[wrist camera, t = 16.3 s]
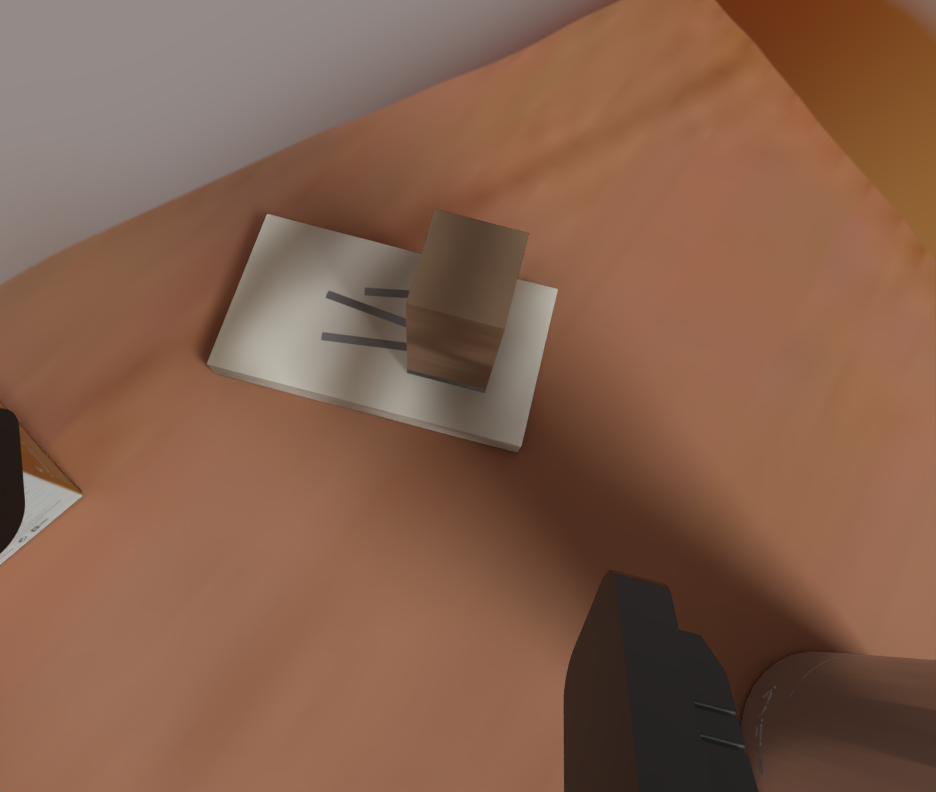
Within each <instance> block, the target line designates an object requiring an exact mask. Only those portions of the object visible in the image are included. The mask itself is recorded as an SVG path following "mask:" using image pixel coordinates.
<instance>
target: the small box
mask: <svg viewBox="0 0 936 792" xmlns="http://www.w3.org/2000/svg"><path fill="white" fill-rule="evenodd" d="M0 408H3V409H6V408H5V407H4V406H3V404H2V403H1V402H0ZM19 430H20V443H21V455H22V468H23V481H24V494H25V512H24V517H23V520H22V523H21V526H20V528H19V530H18V532H17V534H16V536H15V537H14V539H13V540H12V542H11V543H10V544H9V545H8V547H7V548H6V549H5V550H4V551H3V552H2V553H1V554H0V565H1V564H2V563H3V562H4V561H5V560H6V559H8V558H9V557H10V556H11V555H13V554H14V553H15V552H16V551H17V550H18V549H20V548H21V547H22V546H23V545H25V544H26V543H27V542H28V541H29V540H30V539H32V538H33V537H34V536H35V535H36V534H38V533H39V532H40V531H41V530H42V529H44V528H45V527H46V526H47V525H48V524H50V523H51V522H52V521H53V520H54V519H56V518H57V517H58V516H59V515H60V514H61V513H63V512H64V511H65V510H66V509H67V508H69V507H70V506H71V505H72V504H73V503H75V502H76V501H77V500H78V499H80V498H81V497H82V496H83V494H82V492H81V491H80V490H79V489H78V488H77V487H76V486H75V485H74V484H73V483H72V482H71V481H70V480H69V479H68V478H67V477H66V476H65V475H64V474H63V473H62V472H61V471H60V470H59V468H58V467H57V466H56V465H55V464H54V463H53V462H52V461H51V459H50V458H49V457H48V456H47V455H46V454H45V453H44V452H43V451H42V449H41V448H40V447H39V446H38V445H37V444H36V443H35V442H34V440H33V439H32V438H31V437H30V436H29V435H28V434H27V432H26V431H25V430H24V429H23V428H22V427H21V425H20V424H19Z"/></svg>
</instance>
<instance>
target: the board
mask: <svg viewBox="0 0 936 792" xmlns="http://www.w3.org/2000/svg"><path fill="white" fill-rule="evenodd" d="M420 256H421V254H420V253H416V252H412V251H408V250H405V249H401V248H397V247H393V246H389V245H385V244H382V243H378V242H374V241H370V240H366V239H362V238H358V237H355V236H351V235H347V234H343V233H339V232H335V231H331V230H328V229H324V228H320V227H316V226H312V225H308V224H305V223H301V222H297V221H293V220H289V219H285V218H281V217H278V216H274V215H270V214H267V215H266V218H265V220H264V223H263V225H262V228H261V230H260V233H259V235H258V238H257V240H256V243H255V245H254V248H253V250H252V253H251V255H250V258H249V260H248V263H247V265H246V267H245V270H244V272H243V275H242V277H241V280H240V282H239V285H238V287H237V290H236V292H235V295H234V297H233V300H232V302H231V305H230V307H229V310H228V312H227V315H226V317H225V320H224V322H223V325H222V327H221V330H220V332H219V335H218V337H217V340H216V342H215V345H214V347H213V349H212V352H211V354H210V357H209V359H208V362H207V365H208V366H209V368H210V369H211V370H212V371H213V373H215V374H218V375H222V376H226V377H230V378H234V379H237V380H241V381H245V382H249V383H253V384H257V385H260V386H264V387H268V388H272V389H276V390H280V391H283V392H287V393H291V394H295V395H299V396H302V397H306V398H310V399H314V400H318V401H322V402H325V403H329V404H333V405H337V406H341V407H344V408H348V409H352V410H356V411H360V412H364V413H367V414H371V415H375V416H379V417H383V418H386V419H390V420H394V421H398V422H402V423H406V424H409V425H413V426H417V427H421V428H425V429H429V430H432V431H436V432H440V433H444V434H448V435H451V436H455V437H459V438H463V439H467V440H471V441H474V442H478V443H482V444H486V445H490V446H493V447H497V448H501V449H505V450H509V451H513V452H516V453H518V451H519V450H520V448H521V446H522V442H523V438H524V433H525V429H526V425H527V420H528V416H529V412H530V407H531V403H532V399H533V394H534V390H535V386H536V381H537V377H538V373H539V368H540V364H541V360H542V355H543V351H544V347H545V342H546V338H547V334H548V329H549V325H550V321H551V316H552V312H553V308H554V304H555V299H556V295H557V291H558V289H555V288H551V287H547V286H543V285H539V284H536V283H532V282H528V281H524V280H520V279H517V283H516V287H515V291H514V295H513V299H512V303H511V307H510V311H509V315H508V319H507V323H506V327H505V330H504V333H503V337H502V340H501V343H500V346H499V349H498V352H497V356H496V359H495V362H494V365H493V368H492V371H491V374H490V378H489V381H488V384H487V387H486V390H485V393H482V392H478V391H474V390H470V389H467V388H463V387H459V386H455V385H451V384H447V383H444V382H440V381H436V380H432V379H428V378H424V377H421V376H417V375H413V374H409V373H407V334H406V301H407V298H408V295H409V291H410V288H411V285H412V282H413V278H414V275H415V272H416V269H417V265H418V262H419V259H420Z"/></svg>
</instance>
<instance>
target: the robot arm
mask: <svg viewBox="0 0 936 792" xmlns="http://www.w3.org/2000/svg"><path fill="white" fill-rule="evenodd" d="M24 512H25V494H24V481H23V468H22V455H21V443H20V430H19V423H18V420H17V418H16V416H15V415H14V414H13V413H12V412H11V411H9V410H7V409H3V408H0V554H1V553H2V552H3V551H4V550H5V549H6V548H7V547H8V545H9V544H10V543H11V542H12V540H13V539H14V537H15V536H16V534H17V532H18V530H19V528H20V526H21V523H22V520H23V517H24ZM735 713H736V708H735V705H734V701H733V697H732V694H731V690H730V686H729V683H728V679H727V675H726V672H725V671H724V669H723V668H722V666H721V665H720V663H719V662H718V660H717V659H716V657H715V656H714V654H713V653H712V651H711V650H710V648H709V647H708V646H707V644H706V643H705V641H704V640H703V638H702V637H701V635H697V634H693V633H690V632H686V631H682V630H678V625H677V621H676V616H675V611H674V606H673V602H672V597H671V593H670V590H669V588H668V586H667V585H665V584H662V583H658V582H655V581H651V580H647V579H643V578H639V577H636V576H632V575H628V574H624V573H620V572H617V571H613V570H610V571H608V572H607V573H606V575H605V576H604V578H603V580H602V582H601V584H600V587H599V589H598V592H597V594H596V596H595V599H594V601H593V604H592V606H591V608H590V611H589V613H588V616H587V618H586V621H585V623H584V625H583V628H582V630H581V633H580V635H579V637H578V640H577V642H576V645H575V647H574V650H573V652H572V655H571V658H570V662H569V666H568V670H567V675H566V681H565V689H564V792H936V660H927V659H913V658H899V657H886V656H872V655H863V654H848V653H833V652H814V651H808V652H802V653H797V654H792V655H790V656H788V657H786V658H784V659H781V660H779V661H777V662H776V663H775V664H773V665H772V666H771V667H770V668H769V669H767V670H766V671H765V672H764V673H763V674H762V675H761V677H760V678H759V679H758V681H757V682H756V683H755V685H754V686H753V688H752V690H751V692H750V694H749V697H748V699H747V701H746V703H745V708H744V712H743V717H742V722H741V727H740V723H739V719H736V718H735Z"/></svg>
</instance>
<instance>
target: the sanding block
mask: <svg viewBox="0 0 936 792" xmlns="http://www.w3.org/2000/svg"><path fill="white" fill-rule="evenodd" d="M528 236H529V233H526V232H523V231H519V230H515V229H511V228H507V227H503V226H499V225H496V224H492V223H488V222H484V221H480V220H476V219H473V218H469V217H465V216H461V215H457V214H453V213H449V212H446V211H442V210H438V209H435V210H434V214H433V217H432V220H431V223H430V227H429V230H428V233H427V236H426V240H425V243H424V246H423V249H422V252H421V256H420V259H419V262H418V265H417V269H416V272H415V275H414V278H413V282H412V285H411V288H410V291H409V295H408V298H407V301H406V334H407V373H409V374H413V375H417V376H421V377H424V378H428V379H432V380H436V381H440V382H444V383H447V384H451V385H455V386H459V387H463V388H467V389H470V390H474V391H478V392H482V393H485V390H486V387H487V384H488V381H489V378H490V374H491V371H492V368H493V365H494V362H495V359H496V356H497V352H498V349H499V346H500V343H501V340H502V337H503V333H504V330H505V327H506V323H507V319H508V315H509V311H510V307H511V303H512V299H513V295H514V291H515V287H516V283H517V279H518V275H519V271H520V267H521V263H522V259H523V255H524V251H525V247H526V243H527V240H528Z"/></svg>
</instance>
